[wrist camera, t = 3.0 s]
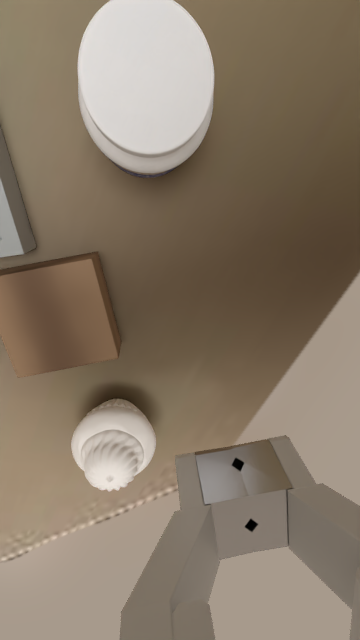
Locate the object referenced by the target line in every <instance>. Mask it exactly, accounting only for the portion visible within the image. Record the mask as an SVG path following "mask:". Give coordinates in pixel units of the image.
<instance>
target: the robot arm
mask: <svg viewBox="0 0 360 640" xmlns="http://www.w3.org/2000/svg"><path fill="white" fill-rule="evenodd" d="M175 464H176V473H177V482H178V491H179V499H180V509H181V510H179V511H175V512H174V514H173V516H172V518H171V520H170V521H169V523H168V525H167V527H166V529H165V531H164V533H163V535H162V536H161V538H160V540H159V542H158V544H157V546H156V548H155V550H154V551H153V553H152V555H151V557H150V559H149V561H148V563H147V565H146V567H145V568H144V570H143V572H142V574H141V576H140V578H139V580H138V582H137V583H136V585H135V587H134V589H133V591H132V593H131V595H130V597H129V598H128V600H127V602H126V604H125V606H124V608H123V610H122V612H121V628H120V640H215V635H214V629H213V624H212V618H211V612H210V606H209V604H208V601H209V598H210V594H211V591H212V587H213V584H214V580H215V577H216V574H217V570H218V567H219V563H220V561H219V560H221V559H225V558H230V557H234V556H238V555H243V554H247V553H252V552H256V551H263V550H269V549H275V548H281V547H287V546H289V549H290V550H291V551H293V553H294V554H295V555H296V556H297V557H298V558H299V559H300V560H302V561H303V562H304V563H305V564H306V565H307V566H308V567H309V568H310V569H311V570H312V571H313V572H314V573H315V574H316V575H317V576H318V577H319V578H320V579H321V580H322V581H323V582H324V583H325V584H326V585H327V586H328V587H329V588H330V589H331V590H332V591H333V592H334V593H335V594H336V595H338V597H339V598H340V599H342V601H343V602H345V603H346V604H347V605H348V606H349V607H350V608H351V609H352V619H351V630H350V640H360V506H359V505H357V504H355V503H354V502H352V501H350V500H349V499H347V498H346V497H344V496H342V495H341V494H339V493H337V492H336V491H334V490H333V489H331V488H329V487H328V486H326V485H324V484H316V483H315V481H314V479H313V478H312V476H311V474H310V473H309V471H308V469H307V467H306V466H305V464H304V463H303V461H302V459H301V458H300V456H299V454H298V452H297V451H296V449H295V447H294V446H293V444H292V443H291V441H290V439H289V437H287V436H286V435H285V436H280V437H275V438H269V439H267V440H266V439H265V440H261V441H255V442H250V443H244V444H239V445H234V446H230V447H223V448H217V449H211V450H204V451H198V452H195V454H194V453H188V454H182V455H175Z"/></svg>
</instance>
